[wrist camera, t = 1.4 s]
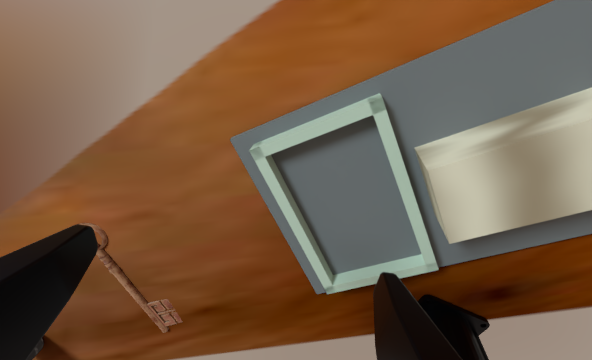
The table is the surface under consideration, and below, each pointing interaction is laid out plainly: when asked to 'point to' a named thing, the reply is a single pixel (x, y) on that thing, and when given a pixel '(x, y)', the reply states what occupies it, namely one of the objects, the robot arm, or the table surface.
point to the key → (133, 291)
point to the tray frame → (295, 219)
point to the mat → (424, 141)
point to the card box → (512, 169)
